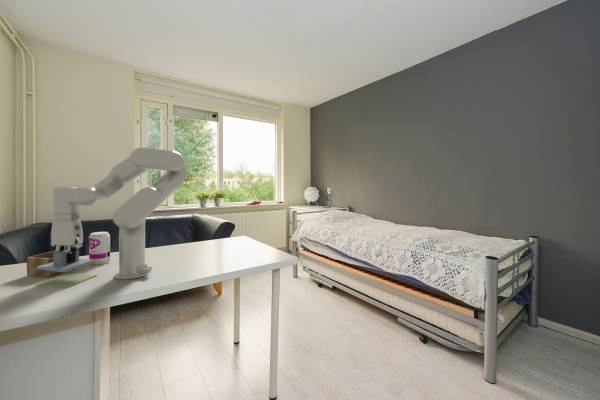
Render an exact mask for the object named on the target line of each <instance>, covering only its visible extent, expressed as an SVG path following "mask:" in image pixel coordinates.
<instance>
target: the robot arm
mask: <svg viewBox="0 0 600 400" xmlns="http://www.w3.org/2000/svg"><path fill="white" fill-rule="evenodd" d="M149 170H158V171H160V170H162V171H165V173H164V174H163V175H161V176H160V177H159V178H157V180H155V181H154V182H153V183H152V184H151V185H148V186H146V187H143V188H142V189H140V190H139V191H137V192H135V194H134V195H132V196H131V197H130V198H128V199H126V201H125V202H124V203H122V204H121V205H120V206H118V208H116V210H115V211H114V213H113V215H112V221H113V223H114V224H115V225H116V226H117V227H118V228H119V231H118V236H119V237H118V251H119V252H118V254H119V255H118V259H119V260H118V264H119V265H118V266H119V268H118V269H119V270H118V271H116V272H115V273H114V277H115V278H116V279H117V280H132V279H138V278H142V277H145V276H146V275H148V274H150V273H152V270H153V267H152V266H148V263H147V262H146V219H147V217H148V216H150V214H152V213H153V212H154V211H155V210H156V209H158V208H159V207H160V206H161V205H162V204H163V203H164V202H165V200H167V198H169V197H170V196H171V195H173V193H174V192H176V191H177V190H178V189H179V188H180V187H181V186H182V185H183V184H184V182H185V180H186V179H187V175H188V168H187V164H186V159H184V156H183V155H182V154H181V153H179V151H175V150H167V149H161V148H159V149H158V148H150V147H137V148H135V149H133V150H132V151H131V153H130V156H128V157H127V158H125V159H123V160H122V161H121V162H119V163H117V164H116V165H115V166H114V165H113V167H112V168H111V169H110V172H109V173H108V174H107V176H106V177H104V178H103V179H101V180H100V181H98V182H96V184H94V185H92V186H84V187H83V186H82V187H77V186H55V187H54V188H53V191H52V192H53V194H52V195H53V196H52V197H53V198H52V200H53V202H52V203H53V204H52V205H53V207H52V208H53V210H52V211H53V216H52V217H53V220H52V222H51V224H52V225H51V229H50V230H51V231H50V243H49V244H50V246H52V247H53V248H54V250H55V251H56V252H60V251H64V250H66V247H67V250H68V253H67V263H72V262H75V261H76V252H77V250H78V249H79V250H80V249H81V248H83V247H84V246H83V243H84V232H83V225H82V221H81V220H80V211H79V210H80V209H79V208H80V206H86V207H87V206H93V205H97V204H100V203H103V202H104V201H106V200H107V199H108V198H110V197H112V196H114V195H115V194H116V193H118V192H119V191H120V190H122V189H123V188H125V187H126V186H127V185H128V184H130V183H131V182H132V181H134V180H135V179H137V178H139V177H140V176H141V175H142V174H143V175H144V174H145V173H146V172H148V171H149Z"/></svg>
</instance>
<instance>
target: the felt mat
mask: <svg viewBox="0 0 600 400" xmlns="http://www.w3.org/2000/svg"><path fill="white" fill-rule="evenodd" d="M95 277H97V274H90V273H89V274H88V273H79V272H67V273H64V274H61V275H58V276H55V277H52V278H49V279H48V280H44V281H42V282H39V283H35V286H40V287H52V288H62V289H67V288H70V287H72V286H74V285H77V284H80V283H83V282H85V281H87V280H91V279H93V278H95Z"/></svg>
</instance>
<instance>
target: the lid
mask: <svg viewBox="0 0 600 400" xmlns="http://www.w3.org/2000/svg"><path fill="white" fill-rule="evenodd" d="M67 253H68V249H65V250H64V251H60V252H56V253H53V262H52V263H48V264H45V265H41V266H37V269H40V270H46V271H55V272H67V273H69V272H68V271H70V272H72V271H71V270H73V271H75V270H74V269H76V270H77V269H79V268H83V267H86V266H87V265H91V264H90V263H93V260H89V259H84V258H80V248H79V249H78V250H77V252H76V261H75V262H72V263H67Z"/></svg>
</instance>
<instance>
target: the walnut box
mask: <svg viewBox="0 0 600 400" xmlns="http://www.w3.org/2000/svg"><path fill="white" fill-rule="evenodd" d="M53 253H56V250H52V251H48V252H44V253H38V254H35V255H32V256H31V255H30V256H26V276H27V277H34V278H44V279H53V278H56V277H59V276H62V275H65V274H68V273H71V272H73V271H75V270H77V269H74V270H71V271H68V272H55V271H46V270H40V269H37V266H41V265H45V264H48V263H52V262H53Z"/></svg>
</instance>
